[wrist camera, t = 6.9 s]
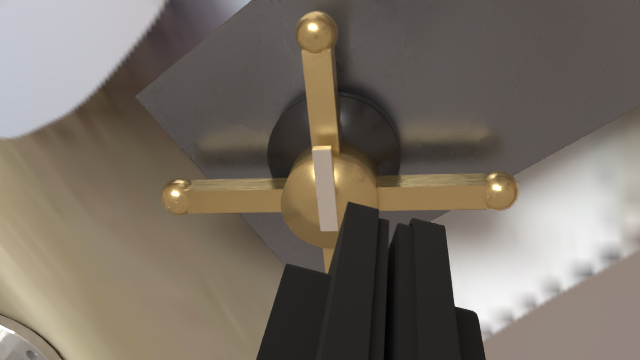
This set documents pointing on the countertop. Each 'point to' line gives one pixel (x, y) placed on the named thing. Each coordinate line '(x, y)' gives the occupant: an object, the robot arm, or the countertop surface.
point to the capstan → (335, 160)
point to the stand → (407, 86)
